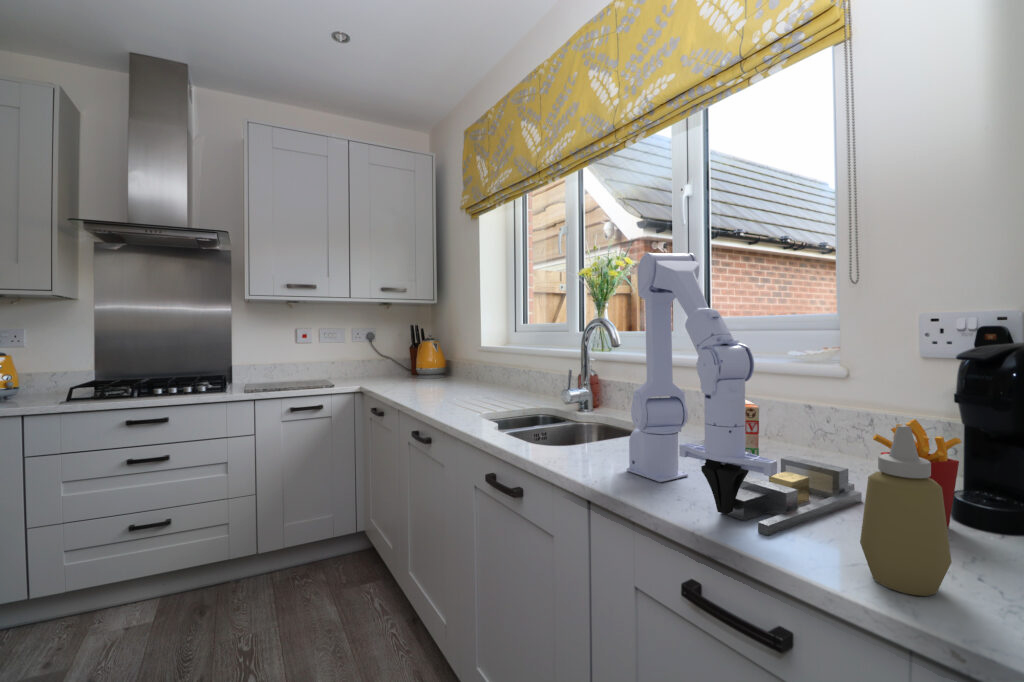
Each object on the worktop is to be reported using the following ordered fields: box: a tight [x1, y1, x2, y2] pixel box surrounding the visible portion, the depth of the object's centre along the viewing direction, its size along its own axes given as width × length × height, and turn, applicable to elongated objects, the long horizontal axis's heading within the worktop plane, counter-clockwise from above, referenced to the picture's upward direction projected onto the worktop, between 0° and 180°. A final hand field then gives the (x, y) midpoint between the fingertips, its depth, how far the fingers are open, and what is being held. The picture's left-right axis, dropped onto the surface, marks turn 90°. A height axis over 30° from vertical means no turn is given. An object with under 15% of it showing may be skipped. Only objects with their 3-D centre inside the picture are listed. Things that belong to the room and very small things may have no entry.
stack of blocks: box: [745, 398, 760, 456], centre depth 117 cm, size 21×6×12 cm, turn 168°
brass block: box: [768, 472, 810, 505], centre depth 82 cm, size 4×5×4 cm
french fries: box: [872, 418, 962, 528], centre depth 73 cm, size 9×8×15 cm
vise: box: [757, 455, 863, 537], centre depth 80 cm, size 12×28×5 cm, turn 120°
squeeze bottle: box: [859, 425, 952, 597], centre depth 55 cm, size 8×8×18 cm
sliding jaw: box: [725, 475, 799, 522], centre depth 77 cm, size 10×9×4 cm
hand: (725, 511), depth 74 cm, fingers closed
